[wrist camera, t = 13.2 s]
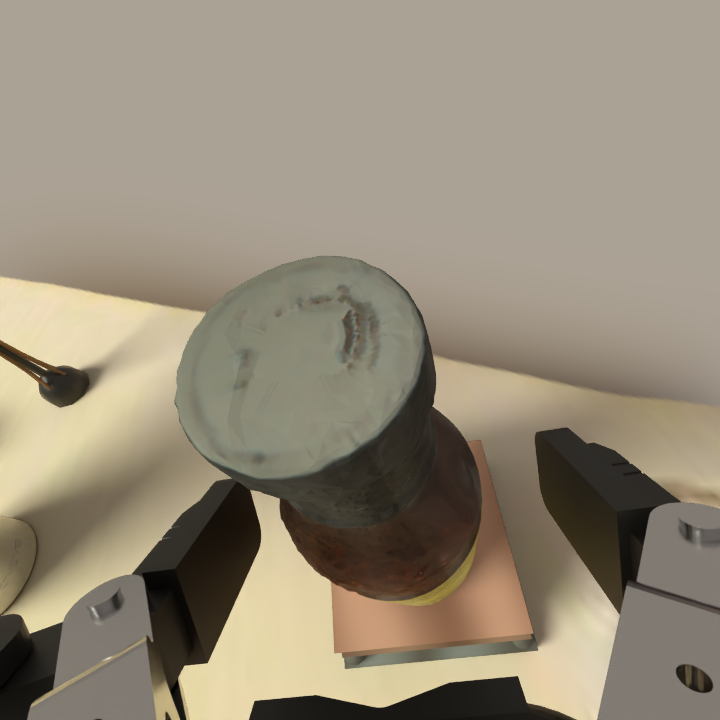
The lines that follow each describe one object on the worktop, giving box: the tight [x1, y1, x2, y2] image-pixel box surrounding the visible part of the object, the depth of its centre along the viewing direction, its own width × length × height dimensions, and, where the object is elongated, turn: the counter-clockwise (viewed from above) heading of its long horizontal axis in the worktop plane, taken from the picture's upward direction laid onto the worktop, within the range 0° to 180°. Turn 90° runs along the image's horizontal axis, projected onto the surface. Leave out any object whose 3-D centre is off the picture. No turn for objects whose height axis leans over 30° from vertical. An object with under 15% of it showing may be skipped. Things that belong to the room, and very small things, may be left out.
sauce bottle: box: [175, 256, 482, 606], centre depth 14 cm, size 6×6×20 cm
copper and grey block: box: [331, 440, 538, 669], centre depth 27 cm, size 13×13×10 cm
